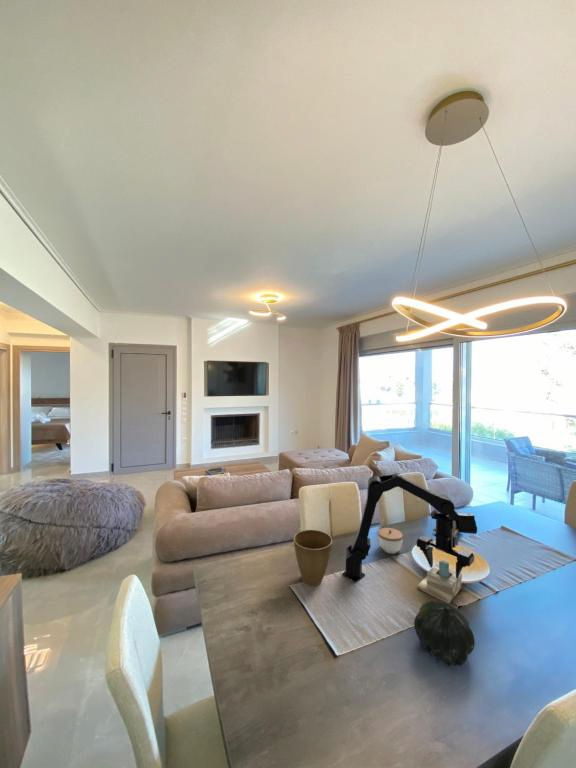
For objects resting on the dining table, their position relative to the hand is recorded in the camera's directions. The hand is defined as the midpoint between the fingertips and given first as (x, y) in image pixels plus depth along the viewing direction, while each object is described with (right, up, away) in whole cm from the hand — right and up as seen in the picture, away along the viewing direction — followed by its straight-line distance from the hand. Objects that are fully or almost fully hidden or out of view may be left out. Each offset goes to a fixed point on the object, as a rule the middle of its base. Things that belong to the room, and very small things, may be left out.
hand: (444, 572), depth 116 cm
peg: (0, -4, 0) cm, 4 cm away
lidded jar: (-11, -6, +26) cm, 29 cm away
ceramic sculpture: (+24, -6, +42) cm, 48 cm away
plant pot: (-49, -6, +4) cm, 49 cm away
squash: (-14, -6, -28) cm, 32 cm away
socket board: (-2, -6, 0) cm, 6 cm away
